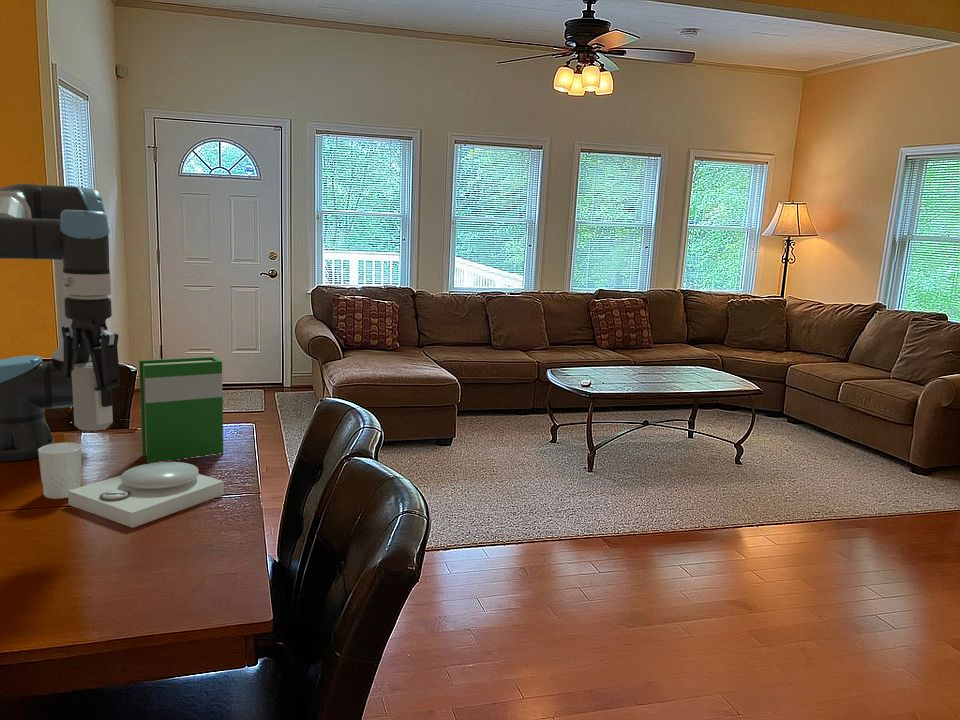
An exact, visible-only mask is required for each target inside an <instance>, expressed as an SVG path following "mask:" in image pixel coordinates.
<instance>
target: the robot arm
mask: <svg viewBox="0 0 960 720" xmlns="http://www.w3.org/2000/svg"><path fill="white" fill-rule="evenodd" d="M104 205H105V204H104V201H103V198H102V195H101V193H100V191H98V190H96V188H95V189H94V188H90V187H89V188H88V187H83V186H82V187H81V186H69V185H51V184H50V185H49V184H32V183H19V184H18V183H17V184H11V185H6V186H4V187H0V260H1V259H2V260H3V259H4V260H5V259H8V260H9V259H10V260H11V259H12V260H13V259H14V260H16V259H18V260H19V259H21V260H23V259H25V260H27V259H28V260H50V261H51V260H53V261H54V262H53V263H54V280H55V282H54V283H55V301H56V321H57V322H56V323H57V324H56V326H57V343H58V347H57V349H56V350H55V351H53V352H52V354H51V360H50V361H43V358H42V357H41V356H40V355H35V354H34V355H32V354H31V355H20V356H19V355H18V356H13V357H12V356H11V357H9V358H8V357H7V358H2V359H0V462H16V461H23V460H30V459H35V458H39V455H38V449H39V448H41V447H43V446H46V445H49V444H55V438H54V436H53V435H52V432H51V430H50V427H49V426H48V424H47V423H48V422H47V421H46V417H45V410H47V409H61V408H73V390H72V371H73V369H74V365H75V364H79V363H86V362H92V364H93V368H94V372H95V377H96V381H97V385H98V387H96V388H94V389H95V403H96V424H98V425H101V424H105V423H110V422H113V423H114V420H113V419H114V417H112V414H113V389H114V388H117V387H120V385H121V376H120V364H119V363H120V362H119V352H118V351H119V350H118V341H119V333H117V332H110V331H109V330H108V326H107V323H106V321H107V319H111V317H112V315H113V313H112V312H113V311H112V299H111V298H110V297H108V296H110V295H112V283H111V282H112V281H111V271H110V269H111V268H110V238H109V234H110V228H109V221H108V215H107V213H106V210H105V206H104ZM103 382H104V383H103Z"/></svg>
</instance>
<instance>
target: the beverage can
mask: <svg viewBox="0 0 960 720" xmlns="http://www.w3.org/2000/svg"><path fill="white" fill-rule="evenodd" d="M103 383H104V382H103ZM96 387H98V385H97V381H96V377H95V372H94V368H93V364H92V362H86V363H79V364H75V365H74V369H73V371H72V390H73V407H72V408H73V423H74V424H73V425H74V426H75V427H76V428H78V429H79V430H81V431H87V432H88V431H92V432H93V431H99V430H105V429H107V428H109V427H110V425H112V424H113V423H114V421H113V422H110V423H105V424H101V425H98V424H96V403H95V389H94V388H96ZM112 417H113V413H112ZM113 418H114V417H113Z"/></svg>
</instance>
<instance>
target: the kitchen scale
mask: <svg viewBox="0 0 960 720" xmlns="http://www.w3.org/2000/svg"><path fill="white" fill-rule="evenodd" d="M199 470H200V469H199V468H198V467H197V466H196V465H194V464H191V463H187V462H182V461H169V462H157V463H149V464H147V463H146V464H145V463H144V464H141V465H137V466H133V467H131V468H128V469H127V470H125V471H123V472H122V474H121V475H117V476H114V477H111V478H106V479H104V480H100V481H97V482H93V483H91V484H86V485H82V486H80V487H79V488H76V489H72V490H69V491H68V506H71V507H74V508H77V509H79V510H81V511H85V512H87V513H91V514H94V515H95V516H99V517H102V518H105V519H106V520H110V521H113V522H115V523H118V524H121V525H123V526H127V527H129V528H131V529H133V528H136V527H138V526H142V525H144V524H147V523H149V522H152V521H155V520H157V519H160V518H163V517H166V516H169V515H171V514H174V513H177V512H180V511H183V510H185V509H188V508H191V507H194V506H196V505H199V504H202V503H204V502H207V501H210V500H212V499H215V498H218V497H220V496H223V495H225V482H224V480H220V479H217V478H215V477H211V476H207V475H204V474H200V473H199Z"/></svg>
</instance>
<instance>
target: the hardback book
mask: <svg viewBox="0 0 960 720" xmlns="http://www.w3.org/2000/svg"><path fill="white" fill-rule="evenodd" d="M138 363H139V364H138V365H139V366H138V367H139V369H138V370H139V392H140V394H139V395H140V398H139V399H140V424H141V425H140V427H141V449H142V450H141V452H142V453H141V454H142V455H143V456H144V455H147V456H146V464H147V463H153V462H159V461H167V460H177V459H184V458H191V457H196V456H205V455H210V454H211V455H212V454H219V453H223V454H224V417H223V416H224V415H223V414H224V413H223V408H224V407H223V406H224V404H223V361H222V360H220V359H219V358H217V357H216V356H201V357H200V356H199V357H198V356H197V357H181V358H179V357H178V358H162V359H159V358H158V359H142V360H141V359H140V360H139V361H138ZM143 456H142V457H143ZM144 457H145V456H144ZM177 461H178V460H177Z"/></svg>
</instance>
